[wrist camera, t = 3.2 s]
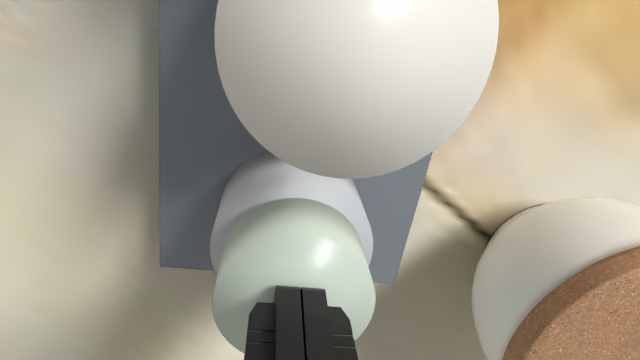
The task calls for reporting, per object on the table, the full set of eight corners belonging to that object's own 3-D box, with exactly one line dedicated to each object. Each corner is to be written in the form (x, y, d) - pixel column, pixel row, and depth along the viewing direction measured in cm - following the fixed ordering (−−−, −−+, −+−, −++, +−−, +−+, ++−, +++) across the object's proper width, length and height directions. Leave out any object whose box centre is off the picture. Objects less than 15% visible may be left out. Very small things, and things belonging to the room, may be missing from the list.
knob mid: (238, -120, 8) (223, -156, 6) (478, -70, 9) (541, -87, 7) (223, 125, 10) (207, 164, 8) (417, 149, 11) (451, 190, 9)
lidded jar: (671, 177, 21) (927, 305, 13) (579, 331, 26) (724, 502, 17) (480, 147, 20) (628, 271, 11) (417, 317, 24) (490, 498, 16)
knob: (226, 190, 13) (216, 230, 11) (375, 205, 14) (391, 245, 12) (218, 308, 16) (208, 361, 13) (348, 316, 16) (358, 367, 14)
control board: (176, -488, 11) (103, -818, 6) (554, -366, 12) (708, -561, 8) (170, 241, 20) (139, 314, 16) (384, 258, 22) (411, 330, 18)
